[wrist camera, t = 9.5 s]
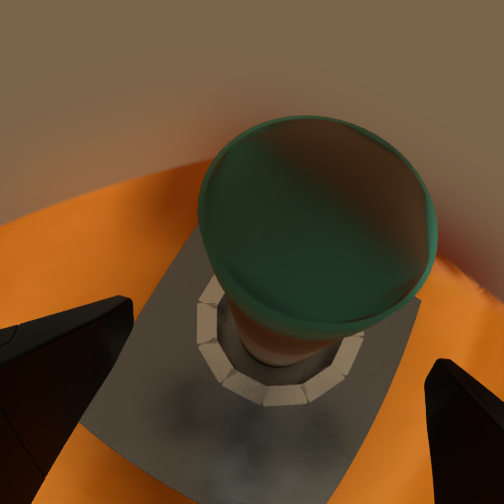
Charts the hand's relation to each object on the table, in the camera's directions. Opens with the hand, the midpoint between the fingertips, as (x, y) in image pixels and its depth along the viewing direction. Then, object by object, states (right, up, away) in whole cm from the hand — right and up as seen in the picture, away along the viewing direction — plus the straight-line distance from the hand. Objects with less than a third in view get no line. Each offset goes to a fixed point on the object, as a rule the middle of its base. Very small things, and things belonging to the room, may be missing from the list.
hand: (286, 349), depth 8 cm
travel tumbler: (+1, -2, +9) cm, 9 cm away
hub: (-1, -5, +9) cm, 10 cm away
